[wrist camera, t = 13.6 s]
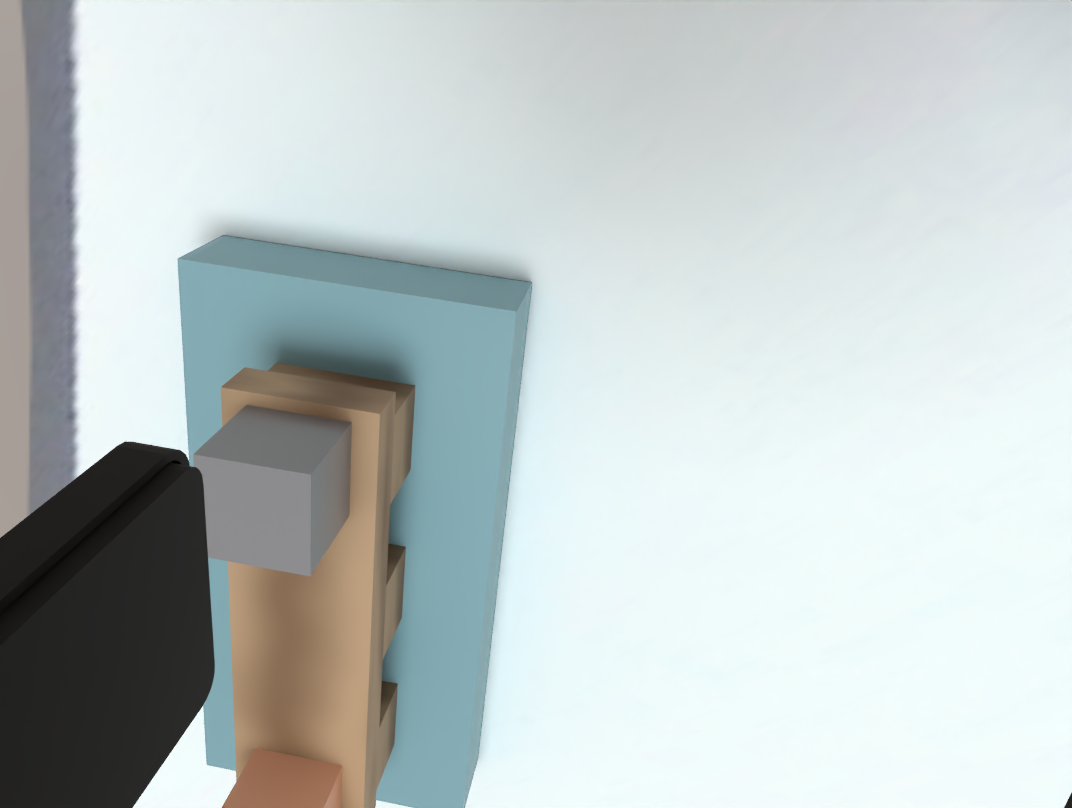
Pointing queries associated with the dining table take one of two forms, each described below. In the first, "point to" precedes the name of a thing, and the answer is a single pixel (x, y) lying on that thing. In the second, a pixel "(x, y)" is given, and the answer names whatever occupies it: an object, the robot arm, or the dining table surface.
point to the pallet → (326, 593)
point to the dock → (428, 490)
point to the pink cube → (286, 783)
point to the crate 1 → (275, 488)
